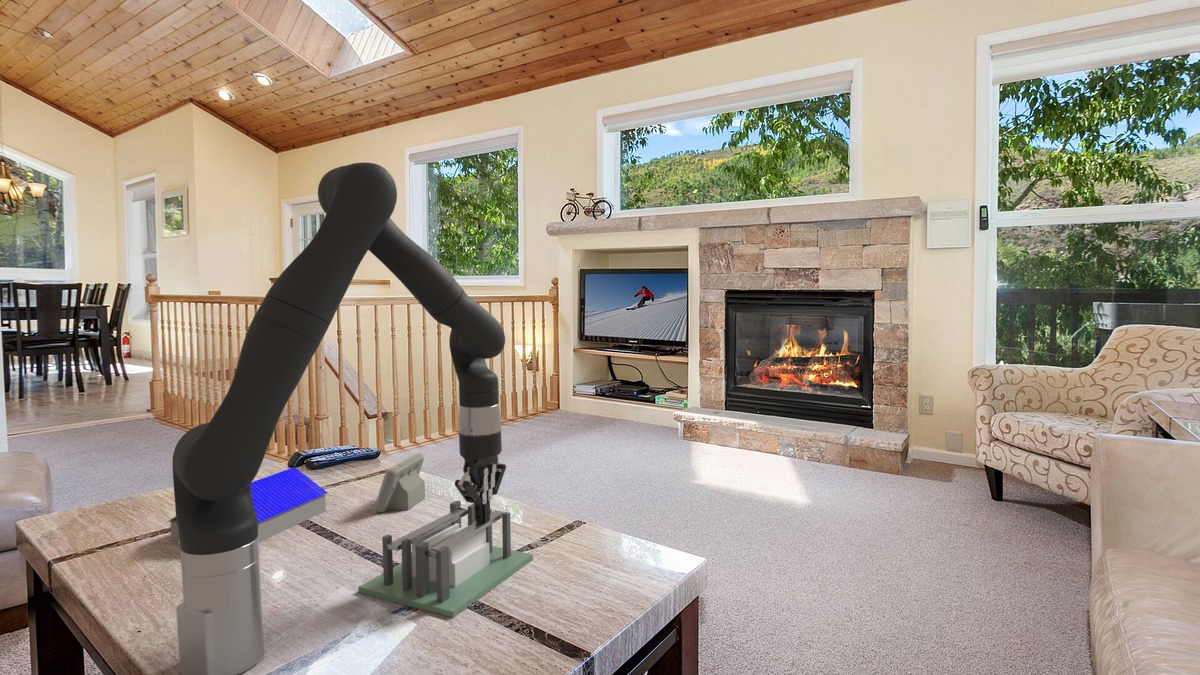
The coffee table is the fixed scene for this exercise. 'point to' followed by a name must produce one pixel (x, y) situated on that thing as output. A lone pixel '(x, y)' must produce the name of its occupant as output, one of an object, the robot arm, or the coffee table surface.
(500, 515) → the strap
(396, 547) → the strap
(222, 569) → the robot arm
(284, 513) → the blue ribbed slab
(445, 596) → the heatsink board
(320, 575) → the coffee table surface
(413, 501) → the digital clock
